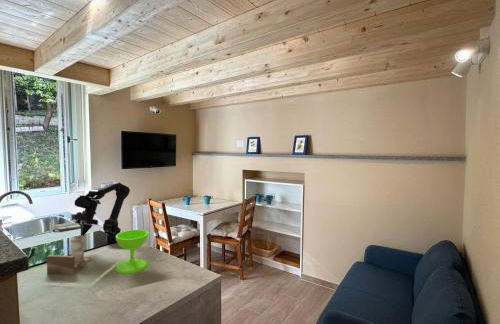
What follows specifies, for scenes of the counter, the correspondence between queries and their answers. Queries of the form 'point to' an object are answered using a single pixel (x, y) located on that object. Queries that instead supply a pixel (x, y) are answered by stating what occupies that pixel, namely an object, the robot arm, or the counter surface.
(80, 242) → the roll carriage
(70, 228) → the dish towel
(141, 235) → the wineglass
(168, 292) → the counter surface
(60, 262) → the roll holder
